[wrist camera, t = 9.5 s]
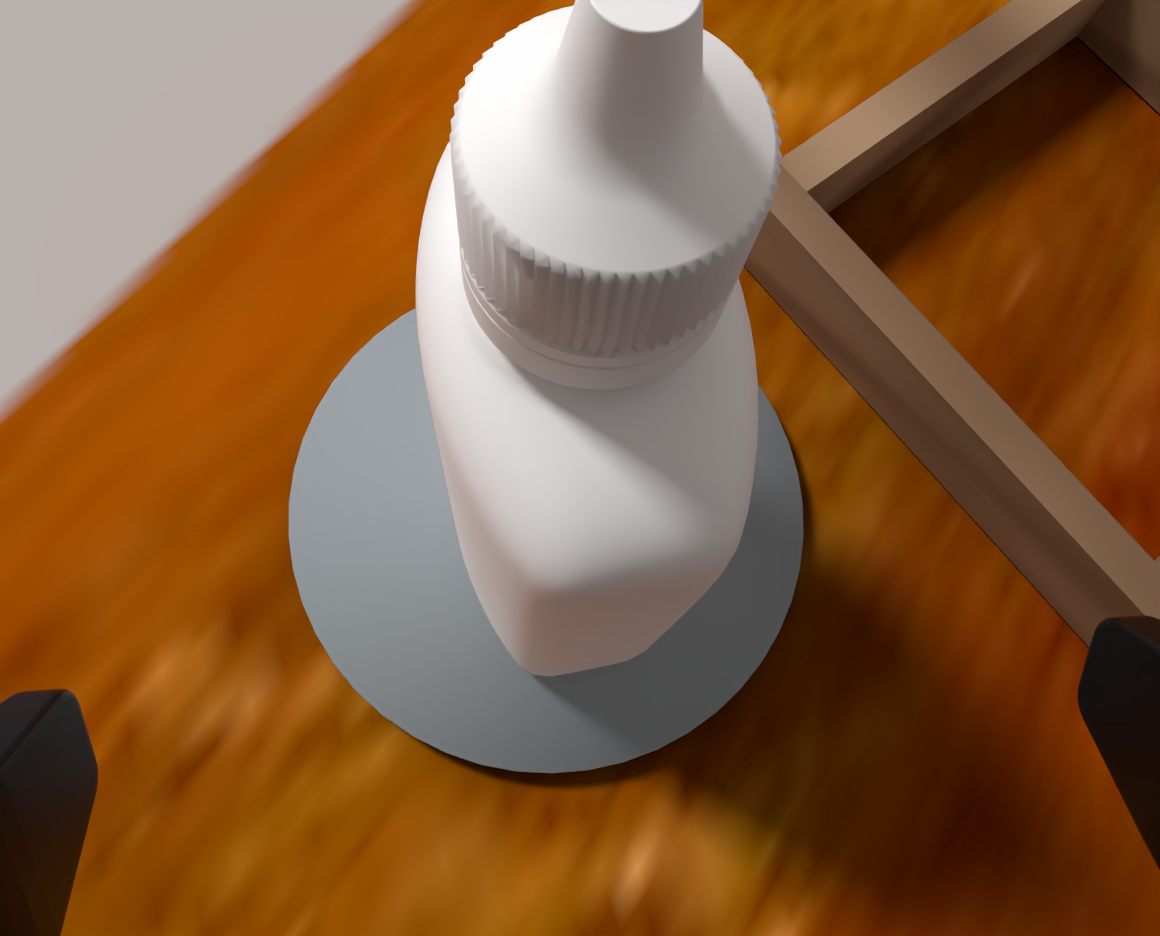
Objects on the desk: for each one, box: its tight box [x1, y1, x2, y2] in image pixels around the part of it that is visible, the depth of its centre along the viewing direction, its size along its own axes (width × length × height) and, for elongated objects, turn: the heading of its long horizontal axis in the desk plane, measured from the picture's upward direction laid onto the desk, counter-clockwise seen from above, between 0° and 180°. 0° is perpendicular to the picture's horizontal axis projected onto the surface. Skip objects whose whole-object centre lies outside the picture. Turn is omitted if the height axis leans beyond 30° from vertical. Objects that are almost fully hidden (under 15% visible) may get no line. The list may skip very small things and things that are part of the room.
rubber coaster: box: [289, 308, 803, 773], centre depth 17 cm, size 9×9×1 cm
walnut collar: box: [744, 0, 1160, 648], centre depth 19 cm, size 11×11×2 cm
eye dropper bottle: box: [416, 0, 782, 677], centre depth 11 cm, size 4×6×12 cm
